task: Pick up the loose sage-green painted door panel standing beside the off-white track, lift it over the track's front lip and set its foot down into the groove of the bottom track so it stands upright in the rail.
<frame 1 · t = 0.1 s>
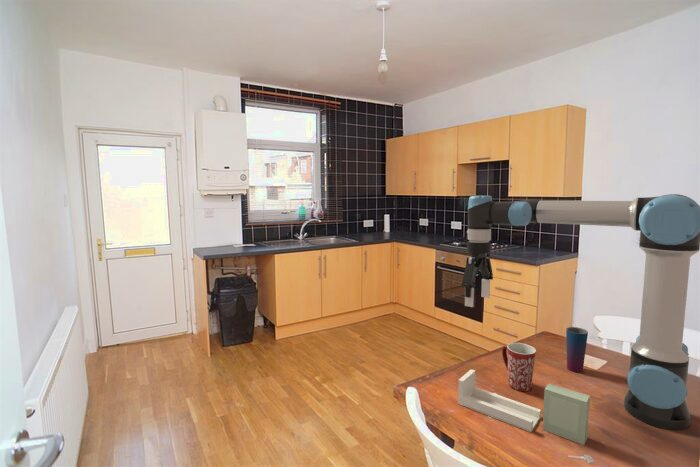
hand: (477, 301, 130), 28 cm above the table, fingers open, 13 cm apart
cup: (574, 369, 139), on the table
door panel: (564, 433, 103), on the table
track: (500, 411, 113), on the table
mug: (516, 383, 130), on the table
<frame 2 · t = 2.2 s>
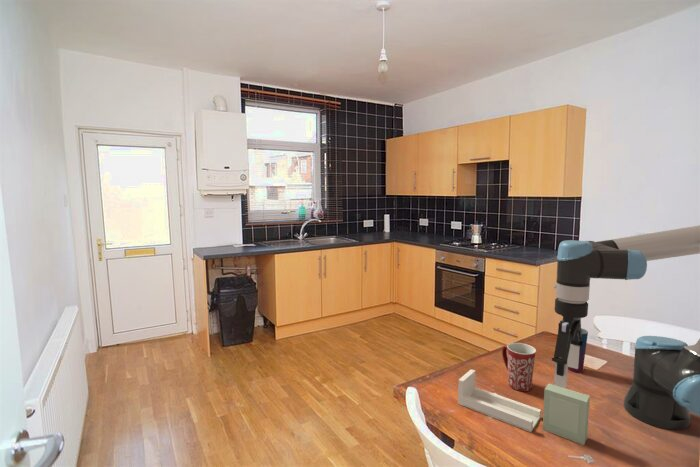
hand: (566, 376, 101), 16 cm above the table, fingers open, 13 cm apart
nothing on the table moved.
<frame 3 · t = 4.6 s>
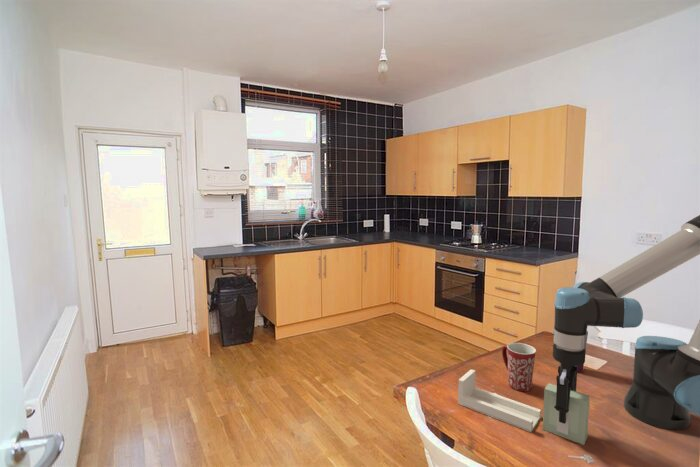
hand: (564, 427, 103), 2 cm above the table, fingers closed on door panel, 4 cm apart
door panel: (564, 433, 103), on the table, touching gripper
everything else where it was.
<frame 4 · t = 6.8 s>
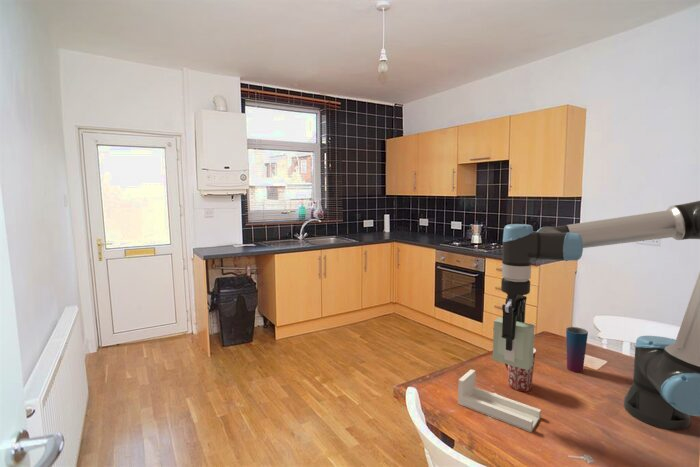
hand: (512, 356, 109), 18 cm above the table, fingers closed on door panel, 4 cm apart
door panel: (512, 362, 110), point 16 cm above the table, touching gripper
everything else where it was.
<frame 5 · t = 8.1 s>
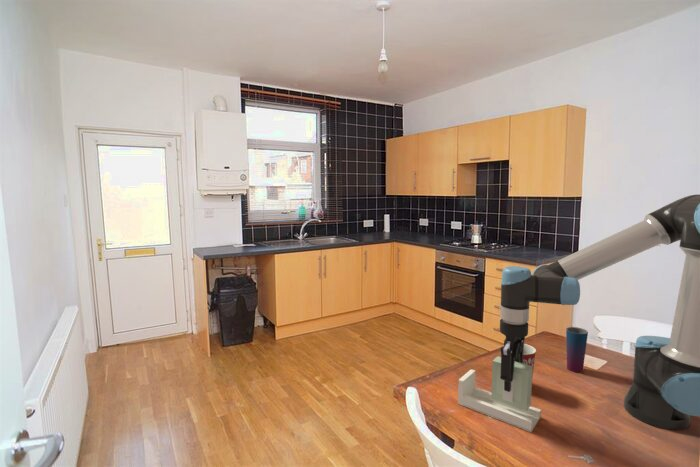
hand: (511, 396, 111), 6 cm above the table, fingers closed on door panel, 4 cm apart
door panel: (510, 401, 111), point 4 cm above the table, touching gripper
everything else where it was.
when the fingers open (4 cm above the table, at t = 9.0 s): door panel drops 2 cm, resting on track.
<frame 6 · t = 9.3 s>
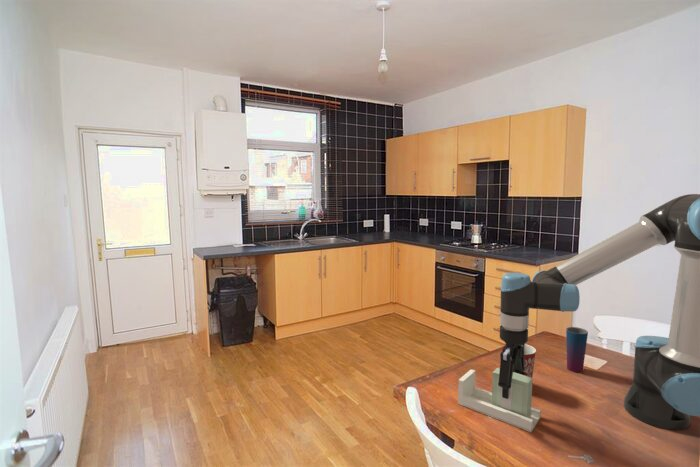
hand: (511, 401, 111), 4 cm above the table, fingers open, 8 cm apart
door panel: (510, 413, 111), point 1 cm above the table, touching track
everything else where it was.
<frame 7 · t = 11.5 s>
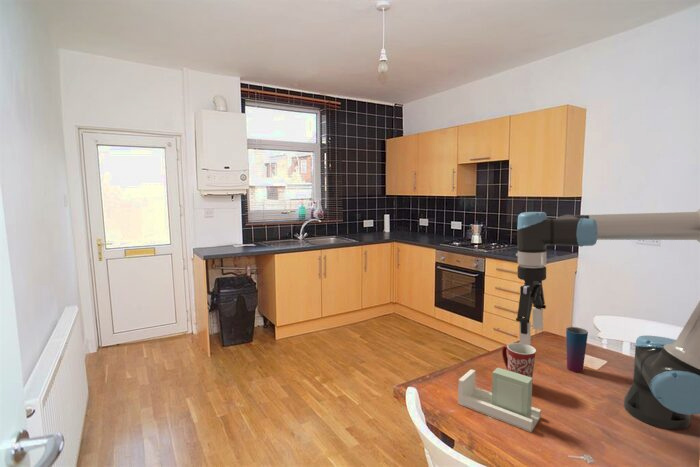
hand: (531, 336, 111), 23 cm above the table, fingers open, 13 cm apart
nothing on the table moved.
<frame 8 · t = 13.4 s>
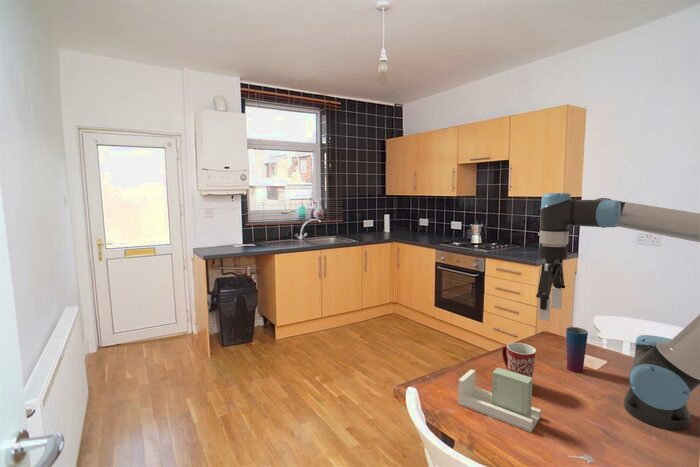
hand: (550, 313, 114), 29 cm above the table, fingers open, 13 cm apart
nothing on the table moved.
at the end: door panel inside the target area on the track (0.5 cm from its centre), point 0.6 cm above the track's base; door panel tilted 0°; the gripper is holding nothing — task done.
